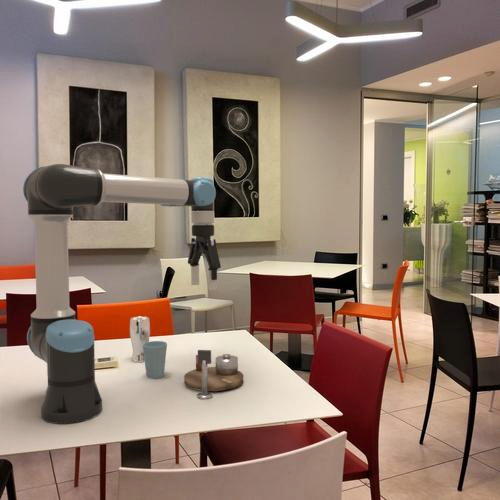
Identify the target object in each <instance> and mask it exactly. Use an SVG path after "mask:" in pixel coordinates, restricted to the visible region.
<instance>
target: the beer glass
mask: <svg viewBox="0 0 500 500" xmlns="http://www.w3.org/2000/svg"><path fill="white" fill-rule="evenodd" d="M129 319H130V320H129V321H130V322H129V336H130V337H129V338H130V343H131V347H132V355H131V362H133V363H145V360H144V352H143V343H146V342H150V337H151V336H150V335H151V327H150V326H151V325H150V324H151V323H150V317H148V316H133V317H131V318H129Z"/></svg>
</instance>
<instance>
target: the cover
mask: <svg viewBox="0 0 500 500" xmlns="http://www.w3.org/2000/svg"><path fill="white" fill-rule="evenodd" d="M214 360H215V365H214V367H215V371H216V374H217V375H221V376H231V375H235V374H237V373H238V371H239V358H238V357H237V355H232V354H231V353H230V354H229V353H225V354H222V355H218V356H216V357H215V358H214Z"/></svg>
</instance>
